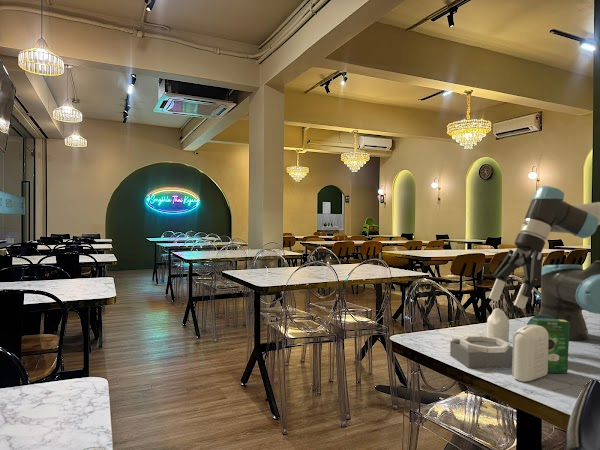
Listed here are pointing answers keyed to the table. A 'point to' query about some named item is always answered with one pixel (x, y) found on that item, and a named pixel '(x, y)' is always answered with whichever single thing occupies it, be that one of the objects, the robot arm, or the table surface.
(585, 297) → the robot arm
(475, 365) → the octagonal hole block
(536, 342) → the photo printer
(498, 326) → the cream tapered cylinder
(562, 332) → the coffee box
